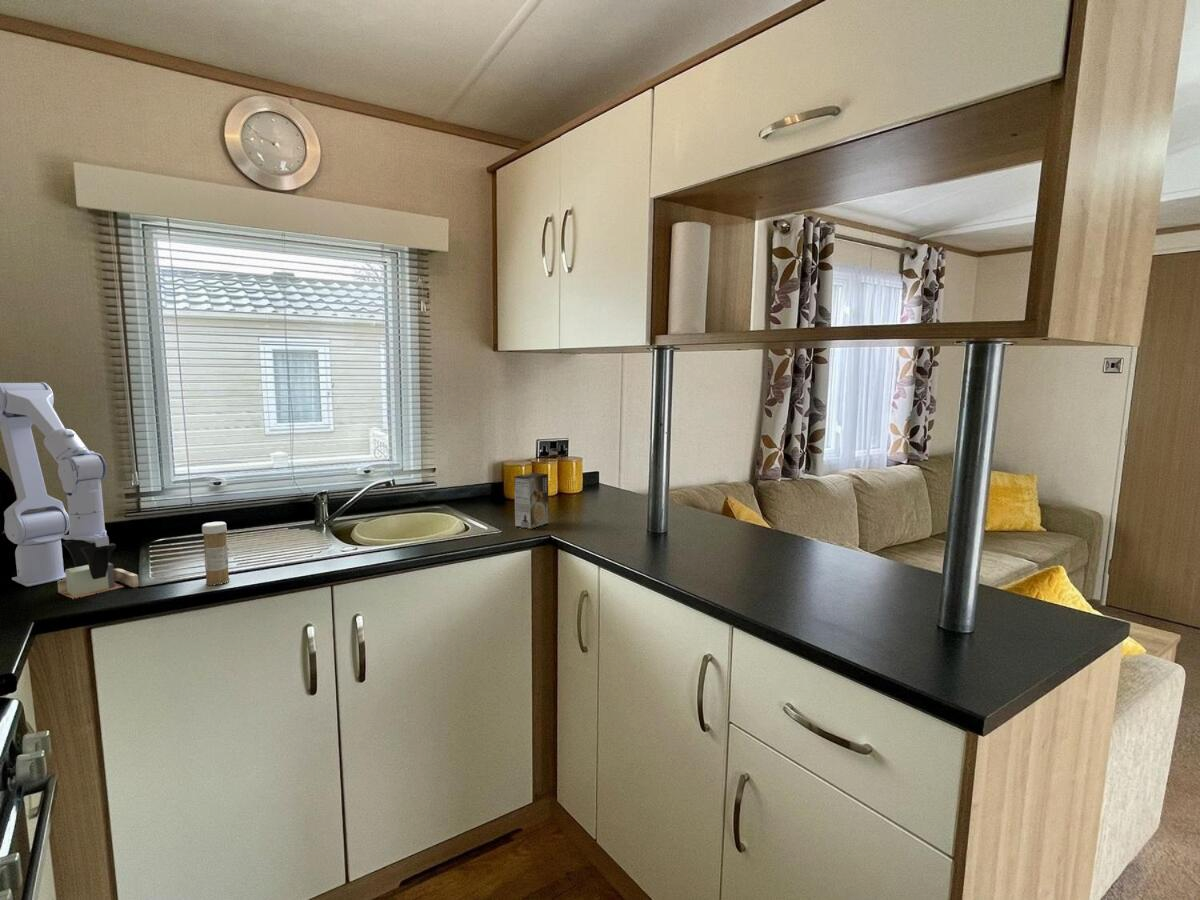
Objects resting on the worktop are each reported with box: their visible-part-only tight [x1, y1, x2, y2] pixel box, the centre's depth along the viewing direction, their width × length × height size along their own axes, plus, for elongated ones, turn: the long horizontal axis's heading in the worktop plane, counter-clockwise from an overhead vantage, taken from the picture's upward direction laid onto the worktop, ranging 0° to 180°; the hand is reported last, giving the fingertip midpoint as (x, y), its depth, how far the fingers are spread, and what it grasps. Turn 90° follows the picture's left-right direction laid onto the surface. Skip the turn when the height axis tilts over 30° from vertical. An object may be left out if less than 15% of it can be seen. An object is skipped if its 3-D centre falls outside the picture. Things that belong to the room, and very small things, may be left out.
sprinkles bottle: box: [201, 521, 230, 586], centre depth 139 cm, size 5×5×13 cm
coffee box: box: [513, 472, 550, 528], centre depth 194 cm, size 9×6×16 cm
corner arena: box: [56, 567, 140, 600], centre depth 135 cm, size 10×11×2 cm
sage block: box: [64, 562, 116, 596], centre depth 134 cm, size 4×7×5 cm, turn 147°
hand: (91, 574), depth 134 cm, fingers open, 7 cm apart
